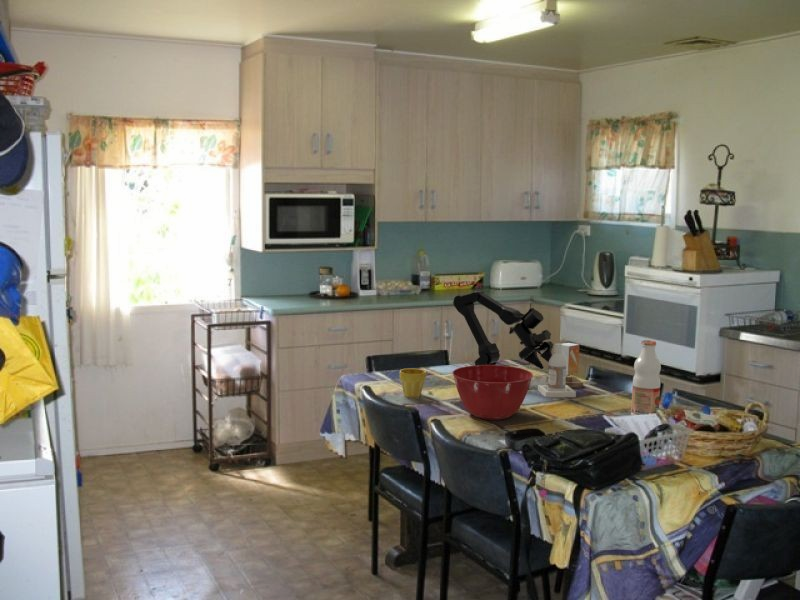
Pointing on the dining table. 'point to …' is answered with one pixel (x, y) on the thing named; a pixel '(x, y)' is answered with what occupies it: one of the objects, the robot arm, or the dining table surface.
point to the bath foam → (557, 370)
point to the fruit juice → (646, 381)
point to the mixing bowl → (492, 389)
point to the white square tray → (556, 392)
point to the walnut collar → (572, 382)
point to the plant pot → (412, 381)
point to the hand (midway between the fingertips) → (548, 366)
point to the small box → (571, 357)
